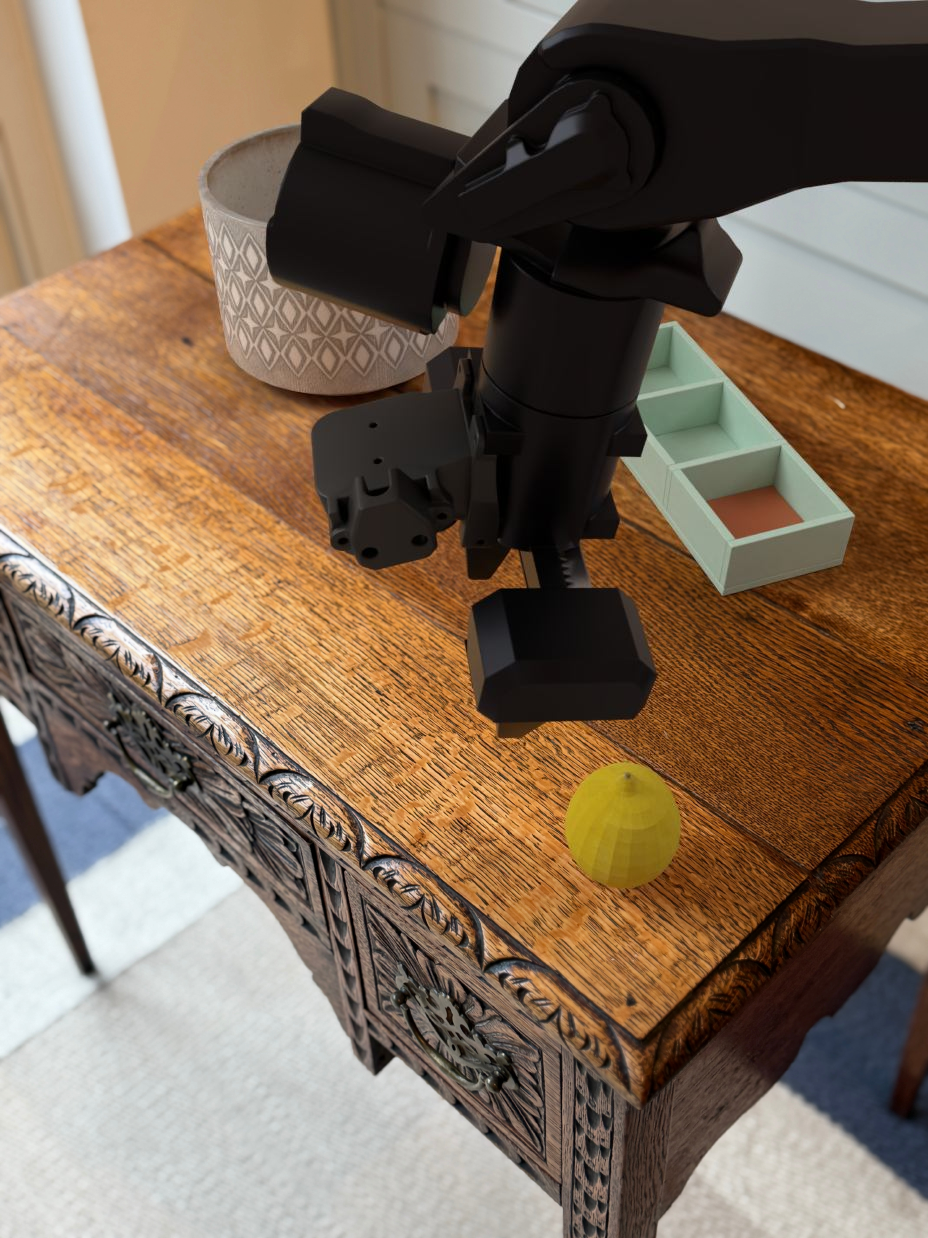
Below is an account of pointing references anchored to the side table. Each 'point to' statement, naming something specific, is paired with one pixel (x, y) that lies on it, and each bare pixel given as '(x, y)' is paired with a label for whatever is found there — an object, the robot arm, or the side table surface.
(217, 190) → the planter
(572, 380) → the robot arm
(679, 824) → the fruit
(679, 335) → the compartment tray
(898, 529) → the side table surface
